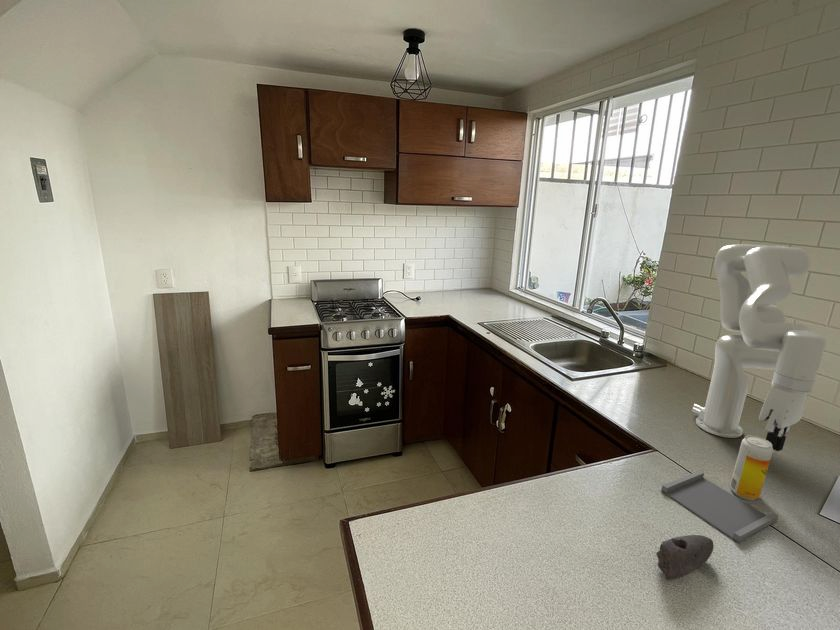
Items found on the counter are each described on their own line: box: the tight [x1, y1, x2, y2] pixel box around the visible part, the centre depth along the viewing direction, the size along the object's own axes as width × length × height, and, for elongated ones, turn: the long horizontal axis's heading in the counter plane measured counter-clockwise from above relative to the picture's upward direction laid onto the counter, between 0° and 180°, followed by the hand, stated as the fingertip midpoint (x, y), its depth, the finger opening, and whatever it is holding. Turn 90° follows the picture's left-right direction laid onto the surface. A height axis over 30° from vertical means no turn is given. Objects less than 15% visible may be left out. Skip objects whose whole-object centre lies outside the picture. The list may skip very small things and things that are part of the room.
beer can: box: [729, 434, 774, 501], centre depth 104 cm, size 6×6×15 cm
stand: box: [660, 470, 779, 544], centre depth 101 cm, size 18×15×2 cm
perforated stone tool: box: [655, 534, 715, 581], centre depth 83 cm, size 15×5×7 cm, turn 111°
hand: (772, 447), depth 106 cm, fingers closed
